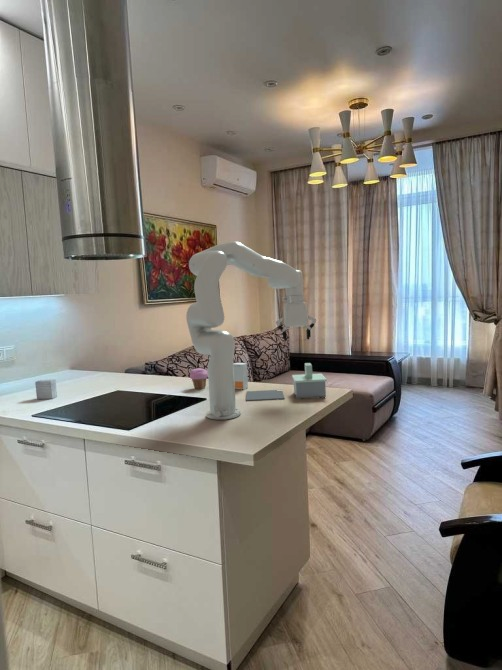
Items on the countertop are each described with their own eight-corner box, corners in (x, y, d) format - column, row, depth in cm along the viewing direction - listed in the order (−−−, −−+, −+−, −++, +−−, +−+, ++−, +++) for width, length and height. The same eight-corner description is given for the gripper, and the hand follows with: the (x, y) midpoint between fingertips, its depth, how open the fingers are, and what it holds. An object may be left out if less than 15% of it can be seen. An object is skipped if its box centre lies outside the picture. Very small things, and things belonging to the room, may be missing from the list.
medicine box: (57, 396, 211) (55, 379, 210) (52, 399, 206) (50, 381, 206) (42, 397, 212) (40, 379, 211) (36, 399, 207) (34, 381, 206)
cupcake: (206, 390, 208) (204, 369, 207) (188, 390, 209) (187, 369, 208) (210, 386, 217) (209, 366, 216) (193, 386, 218) (192, 366, 217)
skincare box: (232, 389, 207) (231, 364, 206) (237, 387, 211) (235, 362, 210) (244, 389, 205) (242, 364, 203) (248, 387, 208) (247, 362, 207)
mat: (284, 399, 183) (284, 398, 183) (246, 401, 183) (245, 399, 183) (282, 390, 199) (282, 389, 199) (246, 392, 199) (246, 391, 199)
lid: (326, 383, 180) (326, 366, 180) (295, 385, 181) (294, 367, 180) (321, 377, 193) (321, 361, 193) (292, 379, 194) (291, 362, 193)
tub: (325, 397, 181) (325, 381, 181) (296, 399, 182) (296, 382, 181) (321, 391, 193) (320, 375, 193) (294, 392, 194) (293, 376, 193)
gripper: (275, 301, 182) (277, 342, 184) (316, 298, 183) (318, 339, 184) (273, 300, 190) (275, 340, 192) (313, 298, 190) (315, 337, 192)
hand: (296, 339), depth 188 cm, fingers open, 9 cm apart
